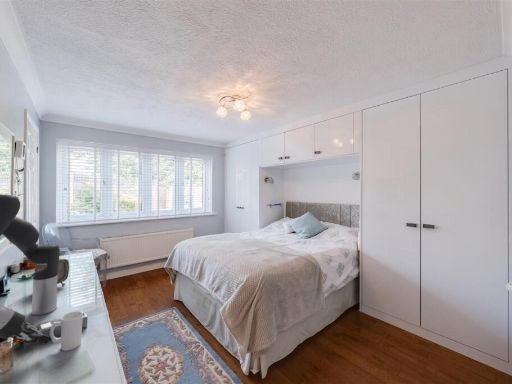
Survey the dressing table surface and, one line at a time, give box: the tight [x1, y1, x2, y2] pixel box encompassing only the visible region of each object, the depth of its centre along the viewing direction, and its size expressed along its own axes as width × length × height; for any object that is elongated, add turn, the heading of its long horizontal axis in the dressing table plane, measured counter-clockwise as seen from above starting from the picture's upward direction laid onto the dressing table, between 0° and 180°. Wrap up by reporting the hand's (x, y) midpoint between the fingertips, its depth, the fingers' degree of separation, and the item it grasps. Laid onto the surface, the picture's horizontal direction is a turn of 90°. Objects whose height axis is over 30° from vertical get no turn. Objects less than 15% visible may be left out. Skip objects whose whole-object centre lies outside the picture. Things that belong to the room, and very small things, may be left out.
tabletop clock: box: [33, 258, 70, 287], centre depth 142 cm, size 14×9×25 cm, turn 168°
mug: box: [50, 310, 83, 352], centre depth 91 cm, size 10×7×12 cm, turn 124°
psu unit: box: [22, 310, 88, 350], centre depth 99 cm, size 7×20×5 cm, turn 140°
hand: (48, 340), depth 88 cm, fingers closed
